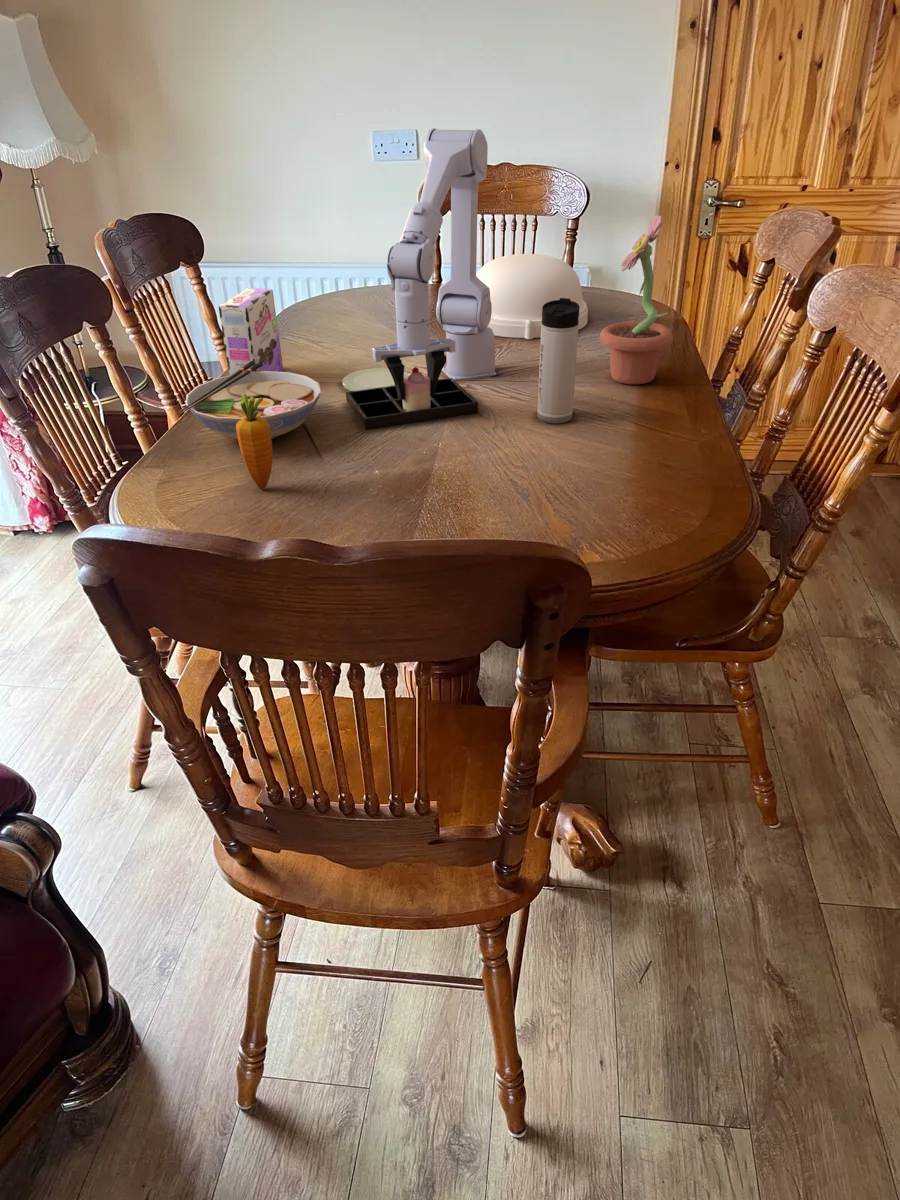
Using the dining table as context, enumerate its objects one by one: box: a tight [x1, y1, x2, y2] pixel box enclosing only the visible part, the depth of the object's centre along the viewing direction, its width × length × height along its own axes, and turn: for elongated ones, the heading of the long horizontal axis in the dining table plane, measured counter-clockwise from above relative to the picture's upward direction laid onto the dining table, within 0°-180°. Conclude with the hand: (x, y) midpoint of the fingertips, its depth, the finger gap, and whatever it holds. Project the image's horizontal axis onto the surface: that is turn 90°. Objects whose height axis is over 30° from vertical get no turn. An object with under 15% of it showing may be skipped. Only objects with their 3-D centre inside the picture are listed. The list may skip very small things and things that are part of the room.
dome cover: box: [476, 253, 589, 340], centre depth 198 cm, size 32×30×14 cm
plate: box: [341, 367, 410, 392], centre depth 167 cm, size 14×14×1 cm
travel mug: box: [536, 298, 579, 425], centre depth 145 cm, size 6×7×20 cm
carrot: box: [236, 394, 274, 491], centre depth 124 cm, size 5×5×15 cm
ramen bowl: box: [176, 361, 322, 440], centre depth 144 cm, size 25×23×8 cm
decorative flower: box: [599, 214, 674, 385], centre depth 159 cm, size 15×14×30 cm
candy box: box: [217, 288, 284, 376], centre depth 165 cm, size 14×6×16 cm, turn 168°
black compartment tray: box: [345, 377, 479, 431], centre depth 154 cm, size 14×21×2 cm
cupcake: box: [403, 366, 431, 412], centre depth 149 cm, size 5×5×8 cm
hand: (416, 395), depth 150 cm, fingers closed on cupcake, 5 cm apart
